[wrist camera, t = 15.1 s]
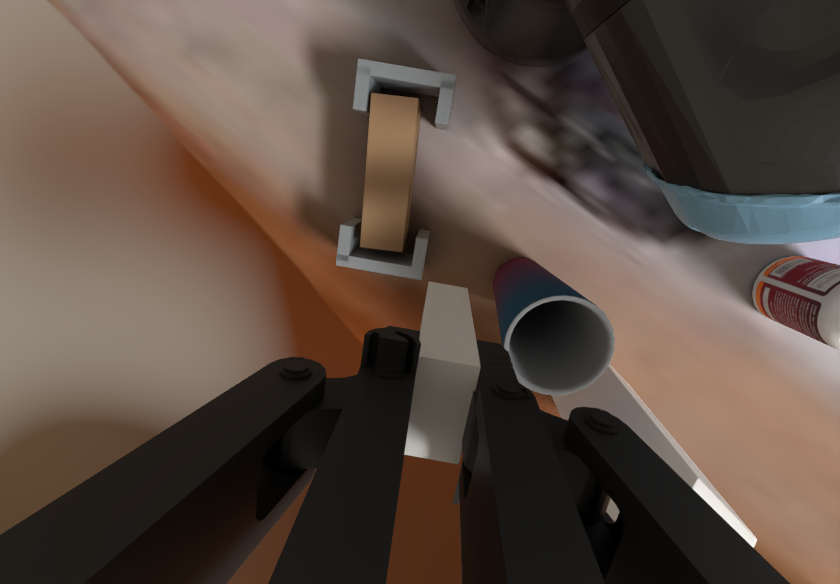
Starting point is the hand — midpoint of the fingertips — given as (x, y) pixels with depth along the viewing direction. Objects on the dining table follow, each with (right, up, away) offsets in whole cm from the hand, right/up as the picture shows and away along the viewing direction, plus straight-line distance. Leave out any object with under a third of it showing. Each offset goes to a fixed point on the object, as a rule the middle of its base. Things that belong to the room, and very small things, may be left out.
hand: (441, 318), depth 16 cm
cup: (+9, +2, +25) cm, 26 cm away
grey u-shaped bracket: (-2, +18, +20) cm, 27 cm away
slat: (-3, +12, +22) cm, 26 cm away
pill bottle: (+33, +1, +23) cm, 40 cm away
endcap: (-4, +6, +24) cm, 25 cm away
